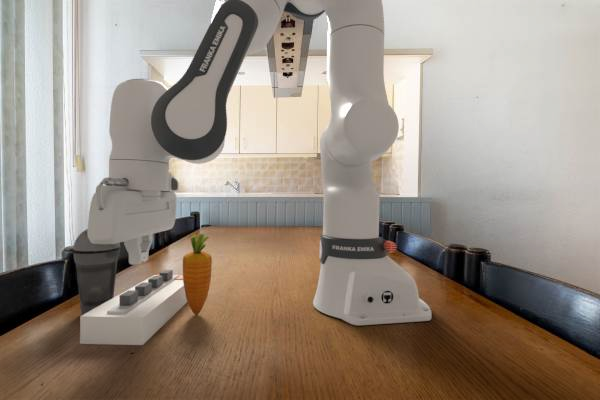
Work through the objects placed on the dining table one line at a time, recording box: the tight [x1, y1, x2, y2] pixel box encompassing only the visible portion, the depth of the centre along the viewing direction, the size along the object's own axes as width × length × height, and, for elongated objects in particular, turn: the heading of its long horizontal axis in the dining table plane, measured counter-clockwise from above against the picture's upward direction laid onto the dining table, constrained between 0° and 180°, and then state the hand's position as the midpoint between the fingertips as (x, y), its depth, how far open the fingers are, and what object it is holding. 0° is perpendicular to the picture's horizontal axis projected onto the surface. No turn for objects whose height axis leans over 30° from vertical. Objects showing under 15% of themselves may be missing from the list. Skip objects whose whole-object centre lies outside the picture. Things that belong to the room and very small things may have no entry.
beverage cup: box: [71, 228, 122, 316], centre depth 54 cm, size 7×7×20 cm
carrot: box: [182, 232, 213, 316], centre depth 54 cm, size 5×5×15 cm
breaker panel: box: [79, 269, 188, 346], centre depth 54 cm, size 9×22×6 cm, turn 0°
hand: (138, 262), depth 50 cm, fingers closed
